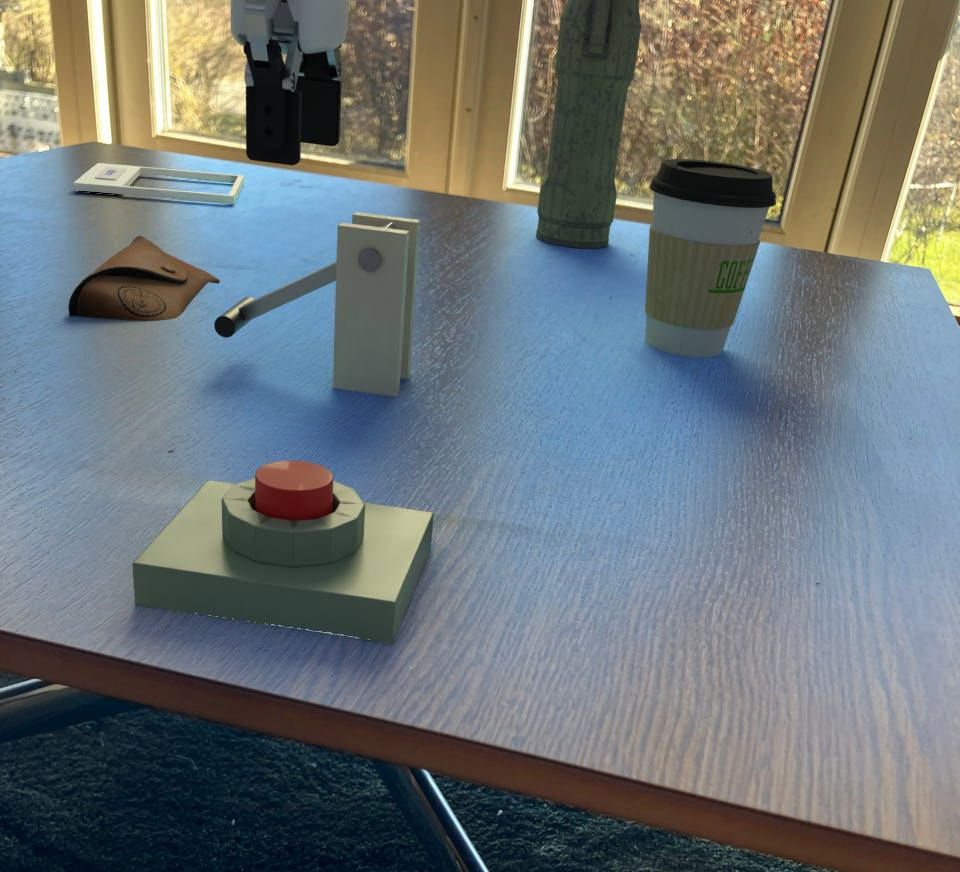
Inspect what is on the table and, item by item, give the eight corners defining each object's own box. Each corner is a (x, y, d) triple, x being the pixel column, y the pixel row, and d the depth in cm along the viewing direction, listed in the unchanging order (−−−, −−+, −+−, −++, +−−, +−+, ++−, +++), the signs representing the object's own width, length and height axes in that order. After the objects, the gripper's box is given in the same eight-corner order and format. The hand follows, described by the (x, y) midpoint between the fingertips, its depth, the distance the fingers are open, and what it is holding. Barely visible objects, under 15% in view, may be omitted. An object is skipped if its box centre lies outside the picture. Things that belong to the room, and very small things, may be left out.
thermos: (537, 247, 128) (580, -122, 111) (532, 226, 139) (571, -114, 121) (614, 254, 129) (669, -112, 111) (603, 233, 139) (653, -105, 121)
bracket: (285, 407, 75) (287, 223, 69) (316, 372, 82) (319, 202, 76) (432, 428, 75) (446, 244, 69) (451, 391, 82) (465, 221, 76)
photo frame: (97, 161, 141) (244, 173, 144) (98, 170, 142) (244, 183, 144) (73, 180, 129) (233, 194, 131) (74, 191, 130) (233, 204, 132)
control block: (134, 605, 51) (128, 526, 49) (208, 517, 60) (206, 446, 58) (393, 645, 51) (398, 566, 49) (430, 550, 59) (436, 479, 57)
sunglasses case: (184, 336, 85) (133, 253, 82) (105, 375, 86) (52, 296, 83) (223, 279, 100) (182, 208, 97) (156, 314, 102) (113, 245, 99)
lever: (224, 347, 75) (206, 314, 74) (250, 326, 80) (233, 294, 79) (397, 269, 71) (380, 232, 70) (413, 251, 76) (397, 217, 75)
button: (245, 519, 52) (244, 483, 51) (268, 489, 55) (268, 455, 54) (321, 530, 52) (322, 495, 51) (340, 499, 55) (341, 466, 54)
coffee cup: (761, 379, 92) (805, 183, 84) (651, 379, 89) (687, 176, 81) (707, 343, 100) (743, 161, 92) (604, 342, 97) (633, 154, 89)
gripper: (279, -164, 71) (277, 131, 80) (180, -206, 56) (190, 162, 65) (396, -152, 71) (381, 144, 79) (327, -190, 56) (318, 179, 64)
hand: (295, 152), depth 72 cm, fingers open, 9 cm apart
